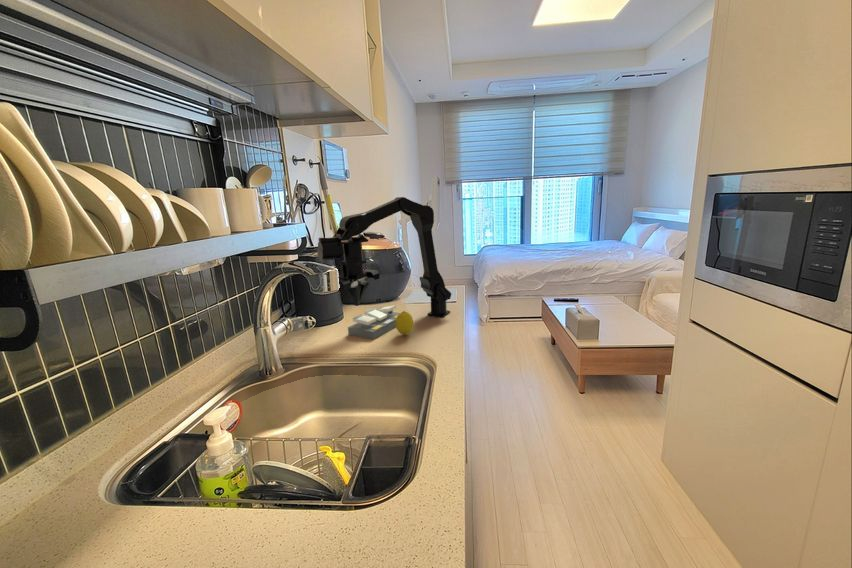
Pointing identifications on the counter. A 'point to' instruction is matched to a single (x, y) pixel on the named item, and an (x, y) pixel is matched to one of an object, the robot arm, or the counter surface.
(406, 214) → the robot arm
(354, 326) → the switch panel
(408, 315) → the lemon
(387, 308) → the switch
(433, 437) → the counter surface
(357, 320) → the switch
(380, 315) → the switch middle
